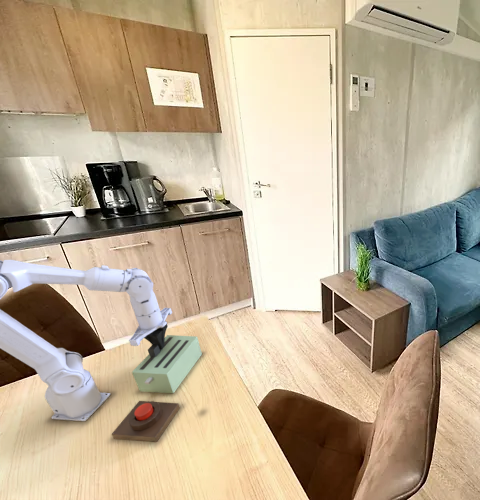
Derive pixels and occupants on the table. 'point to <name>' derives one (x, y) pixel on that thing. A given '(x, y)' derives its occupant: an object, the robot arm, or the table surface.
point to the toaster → (168, 365)
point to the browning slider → (154, 350)
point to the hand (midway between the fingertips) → (159, 347)
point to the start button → (143, 411)
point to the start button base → (147, 422)
